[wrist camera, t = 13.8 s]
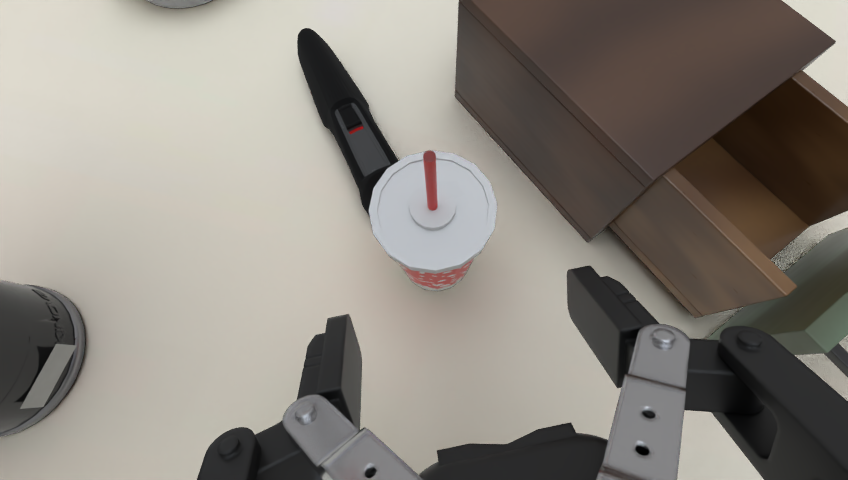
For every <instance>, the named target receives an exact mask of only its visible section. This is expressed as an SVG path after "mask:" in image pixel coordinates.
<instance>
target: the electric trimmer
mask: <svg viewBox="0 0 848 480" xmlns="http://www.w3.org/2000/svg"><path fill="white" fill-rule="evenodd" d="M297 41H298V57H299V61H300V64H301V67H302V69H303V72H304V75H305V77H306V80H307V83H308V86H309V88H310V91H311V94H312V96H313V99H314V102H315V105H316V107H317V110H318V113H319V115H320V117H321V120H322V122H323V124H324V126H325V127H327V128H328V129H330V131H331V132H332V134H333V135H334V137H335V139H336V141H337V143H338V145H339V147H340V149H341V151H342V153H343V155H344V157H345V159H346V161H347V164H348V166H349V168H350V170H351V173H352V175H353V177H354V179H355V182H356V184H357V186H358V188H359V192H360V197H361V201H362V205H363V207H364V209H365V210H366V212H367V213H368V215H369V207H370V202H371V198H372V193H373V188H374V187H375V185H376V184H377V182H378V181H379V180H380V178H381V177H382V175H383V174H384V172H385V171H386V170H387V169H388V168H389V167H391V166H392V165H394V164H395V163H397V162H398V159H397V157H396V156H395V154H394V153H393V151H392V149H391V148H390V146H389V145H388V143H387V141H386V140H385V138H384V136H383V135H382V133H381V131H380V130H379V128H378V126H377V125H376V123H375V121H374V120H373V117H372V115H371V113H370V111H369V105H368V103H367V101H366V100H365V98H364V97H363V95H362V94H361V92H360V90H359V89H358V87H357V86H356V84H355V83H354V82H353V80H352V79H351V77H350V76H349V74H348V73H347V71H346V70H345V68H344V67H343V65H342V64H341V62H340V61H339V59H338V58H337V57H336V55H335V54H334V52H333V51H332V50H331V48H330V47H329V46H328V44H327V43H326V42H325V41H324V40H323V39H322V38H321V37H320V36H319V35H318V34H317V33H316V32H314V31H313V30H311V29H309V28H305V29H302V30H301V31H300V33H299V34H298V40H297ZM369 216H370V215H369Z"/></svg>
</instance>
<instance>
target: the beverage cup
mask: <svg viewBox="0 0 848 480" xmlns="http://www.w3.org/2000/svg"><path fill="white" fill-rule="evenodd" d="M496 212H497V202H496V198H495V195H494V192H493V189H492V186H491V182H490V181H489V180H488V179H487V178H486V176H485V175H484V174H483V173H482V172H481V171H480V169H479V168H478V167H477V166H476V165H475V164H473V163H472V162H470V161H468V160H466V159H464V158H462V157H460V156H458V155H456V154H454V153H447V152H439V151H431V150H430V151H425V152H421V153H417V154H412V155H408V156H406V157H404V158H403V159H401V160H400V161H398V162H397V163H395V164H394V165H392V166H391V167H389V168H388V169H387V170H386V171H385V172H384V174H383V175H382V177H381V178H380V180H379V181H378V182H377V184H376V185H375V187H374V188H373V193H372V198H371V202H370V207H369V215H370V220H371V224H372V229H373V234H374V236H375V237H376V239H377V240H378V241H379V243H380V244H381V246H382V247H383V248H384V250H385V251H386V253H387V254H388V255H389V257H390V258H392V259H393V260H395V261H397V262H398V263H399V264H400V265H401V267H402V268H403V270H404V271H405V273H406V274H407V275H408V277H409V278H410V279H411V281H412V282H413V283H415V284H416V285H418V286H420V287H421V288H423V289H427V290H434V291H440V290H444V289H448V288H451V287H453V286H454V285H455V284H457V283H458V282H459V281H461V280H462V278H463V277H464V275H465V273H466V272H467V270H468V268H469V266H470V265H471V263H472V261H473V259H474V258H475V257H476V256H477V255H479V254H480V253H481V251H482V249H483V248H484V246H485V244H486V243H487V241H488V239H489V238H490V236H491V234H492V233H493V231H494V228H495V221H496Z"/></svg>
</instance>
